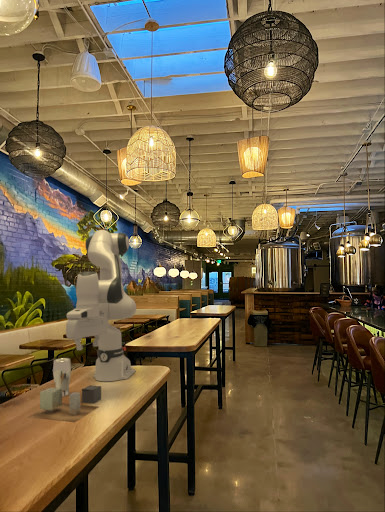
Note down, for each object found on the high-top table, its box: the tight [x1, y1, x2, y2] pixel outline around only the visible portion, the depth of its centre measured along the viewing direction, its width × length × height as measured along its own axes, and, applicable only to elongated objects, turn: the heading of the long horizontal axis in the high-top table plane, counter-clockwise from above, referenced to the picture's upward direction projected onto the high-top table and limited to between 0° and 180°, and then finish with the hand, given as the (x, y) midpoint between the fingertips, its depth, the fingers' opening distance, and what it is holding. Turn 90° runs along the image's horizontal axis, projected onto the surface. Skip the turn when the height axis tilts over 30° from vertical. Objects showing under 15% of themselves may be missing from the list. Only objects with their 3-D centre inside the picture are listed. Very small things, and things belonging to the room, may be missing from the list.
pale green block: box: [39, 387, 63, 413], centre depth 132 cm, size 5×5×8 cm
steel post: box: [68, 391, 81, 416], centre depth 129 cm, size 3×3×7 cm
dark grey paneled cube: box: [81, 385, 102, 405], centre depth 142 cm, size 5×5×6 cm
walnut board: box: [28, 402, 99, 423], centre depth 131 cm, size 15×19×1 cm
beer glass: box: [52, 357, 72, 397], centre depth 152 cm, size 7×7×15 cm
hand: (88, 348), depth 143 cm, fingers open, 8 cm apart
